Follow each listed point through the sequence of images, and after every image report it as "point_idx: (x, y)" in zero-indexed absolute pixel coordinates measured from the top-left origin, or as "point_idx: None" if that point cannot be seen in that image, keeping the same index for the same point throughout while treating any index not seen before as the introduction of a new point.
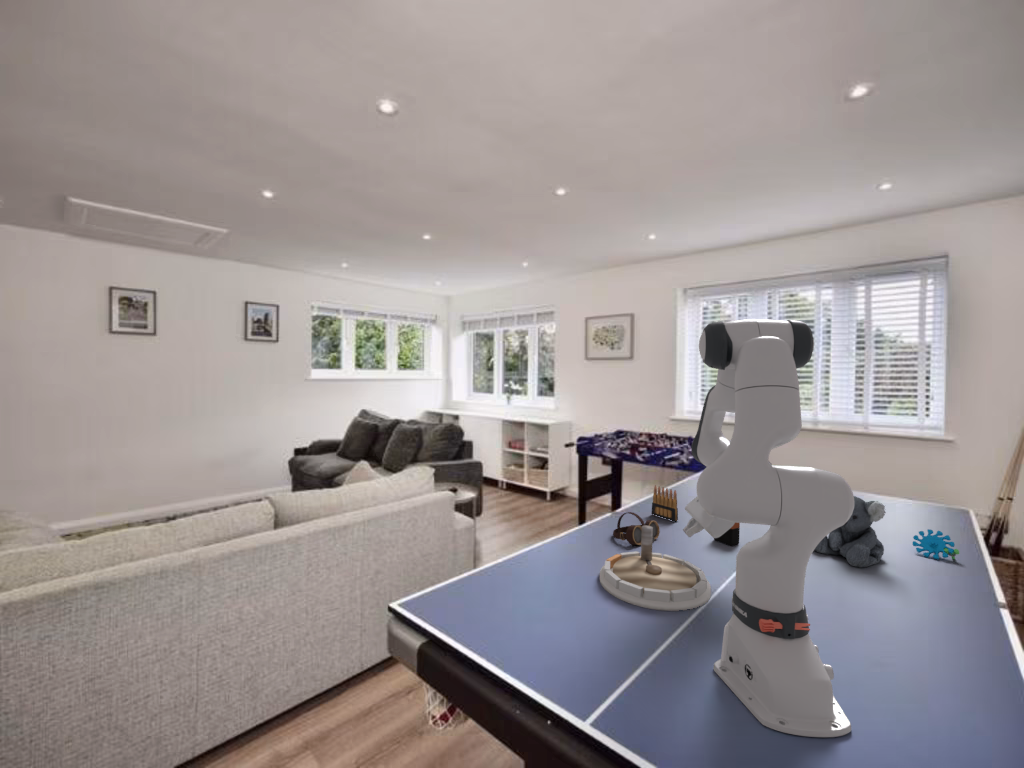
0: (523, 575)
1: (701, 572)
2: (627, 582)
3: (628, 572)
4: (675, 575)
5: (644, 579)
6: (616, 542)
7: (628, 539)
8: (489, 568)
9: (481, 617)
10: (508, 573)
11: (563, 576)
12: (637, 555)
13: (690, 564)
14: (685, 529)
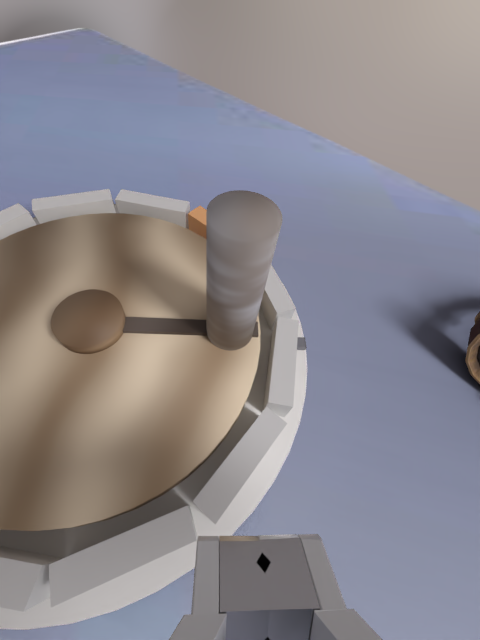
0: (179, 116)
1: (5, 585)
2: (4, 220)
3: (98, 245)
4: (32, 407)
5: (27, 277)
6: (469, 310)
7: (474, 329)
8: (209, 87)
9: (22, 71)
10: (188, 103)
11: (174, 163)
12: (271, 309)
13: (141, 543)
14: (274, 556)
